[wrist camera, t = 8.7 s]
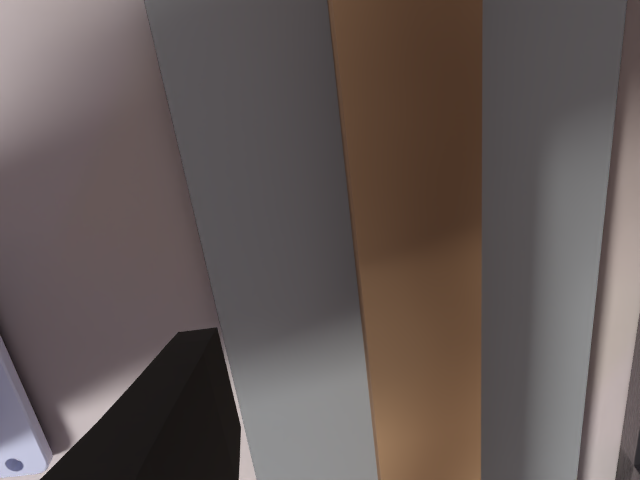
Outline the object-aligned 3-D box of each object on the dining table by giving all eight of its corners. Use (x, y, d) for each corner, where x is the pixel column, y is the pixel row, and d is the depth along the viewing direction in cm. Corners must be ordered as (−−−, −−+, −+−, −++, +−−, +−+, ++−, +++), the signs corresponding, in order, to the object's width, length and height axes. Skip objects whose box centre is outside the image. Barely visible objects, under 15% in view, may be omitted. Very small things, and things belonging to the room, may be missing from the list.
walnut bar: (385, 546, 19) (396, 624, 17) (276, -482, 9) (266, -640, 6) (459, 538, 19) (480, 615, 17) (437, -507, 9) (484, -676, 6)
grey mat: (284, 581, 20) (283, 594, 20) (7, -615, 8) (-9, -648, 8) (562, 552, 20) (567, 565, 20) (685, -727, 8) (707, -767, 8)
